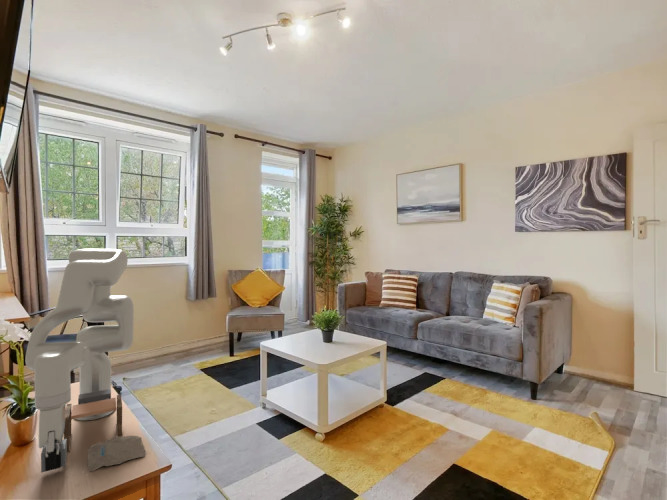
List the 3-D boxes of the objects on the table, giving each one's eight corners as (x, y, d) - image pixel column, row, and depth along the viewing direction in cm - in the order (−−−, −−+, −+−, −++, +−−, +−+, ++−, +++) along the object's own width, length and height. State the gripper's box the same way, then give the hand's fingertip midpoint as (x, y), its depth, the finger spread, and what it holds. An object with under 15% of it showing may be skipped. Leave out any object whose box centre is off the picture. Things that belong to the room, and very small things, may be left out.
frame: (65, 437, 113) (65, 404, 113) (121, 424, 122) (121, 394, 121) (62, 453, 105) (62, 418, 104) (122, 438, 113) (122, 406, 113)
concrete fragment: (145, 460, 103) (145, 439, 103) (86, 474, 96) (86, 452, 96) (144, 447, 109) (144, 427, 109) (89, 460, 102) (89, 439, 102)
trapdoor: (74, 404, 119) (74, 395, 118) (114, 396, 125) (114, 388, 125) (70, 422, 107) (70, 413, 107) (116, 413, 113) (116, 404, 113)
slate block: (44, 461, 97) (43, 444, 97) (66, 455, 100) (66, 438, 99) (41, 472, 93) (40, 454, 93) (65, 466, 96) (64, 448, 95)
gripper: (40, 387, 100) (41, 449, 101) (29, 416, 86) (31, 487, 87) (73, 382, 104) (73, 441, 105) (68, 408, 90) (69, 477, 91)
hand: (54, 462), depth 96 cm, fingers closed on slate block, 5 cm apart
